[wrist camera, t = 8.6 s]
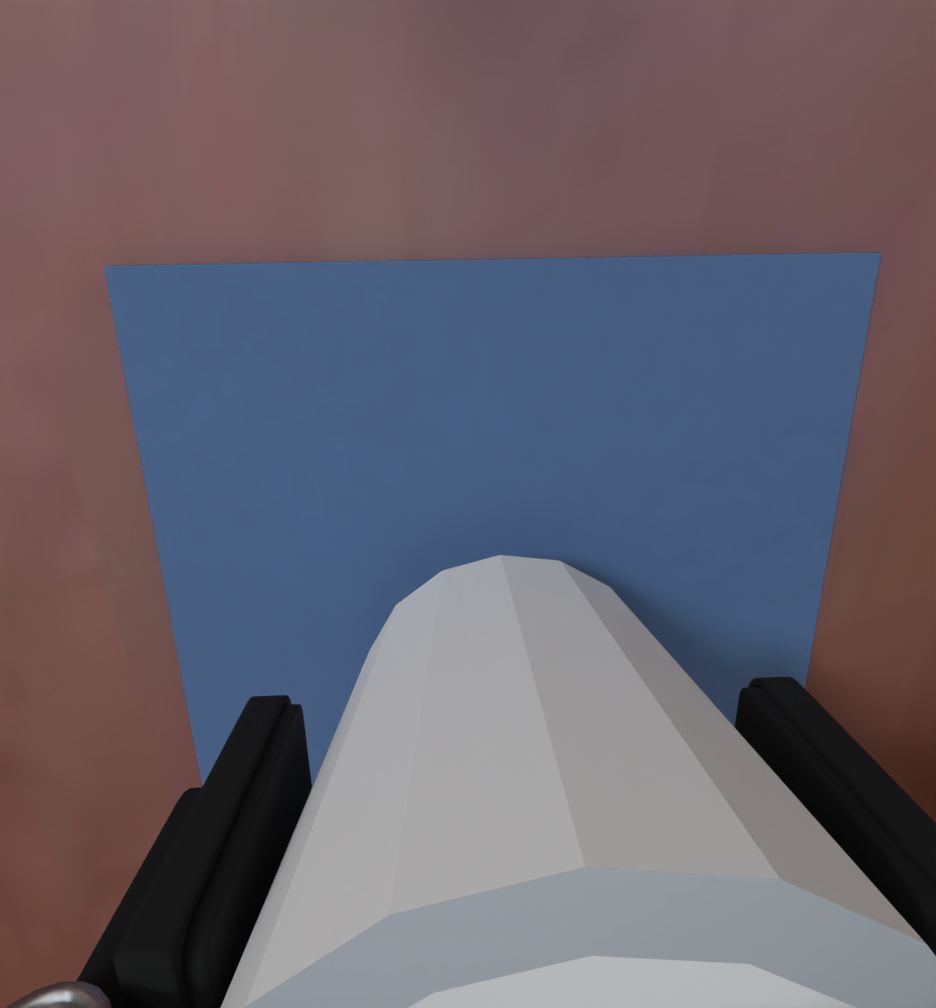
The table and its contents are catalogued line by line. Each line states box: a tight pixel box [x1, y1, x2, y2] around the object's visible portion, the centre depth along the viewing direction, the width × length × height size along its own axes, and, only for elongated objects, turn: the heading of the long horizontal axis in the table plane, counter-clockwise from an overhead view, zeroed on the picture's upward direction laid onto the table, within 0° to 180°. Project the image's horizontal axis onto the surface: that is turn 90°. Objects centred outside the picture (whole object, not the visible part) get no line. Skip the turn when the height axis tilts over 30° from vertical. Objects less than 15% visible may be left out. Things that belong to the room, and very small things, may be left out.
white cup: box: [221, 555, 936, 1008], centre depth 8 cm, size 7×7×7 cm
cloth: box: [104, 252, 881, 787], centre depth 13 cm, size 16×14×1 cm
